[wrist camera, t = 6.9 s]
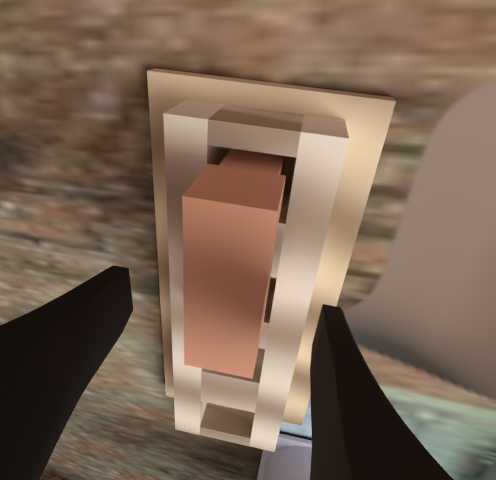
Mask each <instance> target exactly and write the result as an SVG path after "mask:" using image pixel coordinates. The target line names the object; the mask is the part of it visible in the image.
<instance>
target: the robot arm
mask: <svg viewBox="0 0 496 480" xmlns="http://www.w3.org/2000/svg"><path fill="white" fill-rule="evenodd" d="M132 311H133V303H132V294H131V285H130V276H129V268H124V267H119V266H112V267H110V268H108V269H106V270H104V271H103V272H101V273H99V274H98V275H96V276H94V277H93V278H91V279H89V280H88V281H86V282H84V283H82V284H81V285H79V286H77V287H76V288H74V289H72V290H70V291H69V292H67V293H65V294H64V295H62V296H60V297H58V298H56V299H54V300H52V301H50V302H49V303H47V304H45V305H43V306H41V307H39V308H37V309H35V310H33V311H31V312H29V313H27V314H25V315H23V316H21V317H19V318H16V319H14V320H12V321H9V322H7V323H5V324H3V325H0V480H40V477H41V475H42V473H43V471H44V469H45V467H46V465H47V462H48V460H49V458H50V456H51V454H52V452H53V450H54V447H55V445H56V443H57V441H58V439H59V437H60V435H61V433H62V431H63V429H64V427H65V425H66V423H67V421H68V419H69V418H70V416H71V414H72V412H73V410H74V408H75V406H76V404H77V402H78V401H79V399H80V397H81V395H82V393H83V392H84V390H85V388H86V387H87V385H88V383H89V382H90V380H91V379H92V377H93V376H94V374H95V373H96V371H97V370H98V368H99V367H100V365H101V364H102V362H103V361H104V359H105V358H106V356H107V355H108V353H109V352H110V350H111V349H112V347H113V346H114V344H115V343H116V341H117V340H118V338H119V337H120V335H121V333H122V332H123V330H124V328H125V326H126V324H127V322H128V320H129V317H130V315H131V313H132ZM310 392H311V421H312V441H311V440H307V439H303V438H298V437H294V436H289V435H285V434H280V433H279V436H278V440H277V444H276V449H275V452H272V451H268V450H263V452H262V456H261V461H260V466H259V471H258V476H257V480H454V479H453V478H452V477H451V476H450V475H449V474H448V473H447V472H446V471H445V470H444V469H443V468H442V467H441V466H440V465H439V464H438V462H437V461H436V460H435V459H434V458H433V457H432V456H431V455H430V454H429V452H428V451H427V450H426V449H425V448H424V446H423V445H422V444H421V443H420V441H419V440H418V439H417V438H416V436H415V435H414V434H413V433H412V432H411V430H410V429H409V428H408V427H407V425H406V424H405V423H404V421H403V420H402V419H401V417H400V416H399V415H398V413H397V412H396V410H395V409H394V408H393V406H392V405H391V403H390V402H389V400H388V399H387V397H386V396H385V394H384V393H383V391H382V390H381V388H380V386H379V385H378V383H377V381H376V380H375V378H374V376H373V374H372V373H371V371H370V369H369V367H368V366H367V364H366V362H365V360H364V358H363V356H362V354H361V352H360V350H359V348H358V346H357V344H356V342H355V340H354V338H353V336H352V333H351V331H350V329H349V326H348V324H347V321H346V319H345V316H344V313H343V310H342V309H341V308H340V307H336V306H330V305H325V304H323V305H322V308H321V312H320V316H319V320H318V324H317V327H316V331H315V335H314V339H313V343H312V351H311V363H310Z"/></svg>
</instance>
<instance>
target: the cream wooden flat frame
mask: <svg viewBox="0 0 496 480" xmlns="http://www.w3.org/2000/svg"><path fill="white" fill-rule="evenodd" d="M147 80H148V98H149V115H150V132H151V149H152V166H153V183H154V201H155V218H156V235H157V252H158V269H159V287H160V304H161V321H162V338H163V355H164V372H165V390H166V396H170V397H174V407H175V429H176V430H180V431H185V432H189V433H193V434H198V435H202V436H206V437H211V438H215V439H220V440H224V441H228V442H233V443H237V444H241V445H246V446H250V447H254V448H259V449H263V450H268V451H272V452H275V449H276V444H277V440H278V436H279V432H280V428H281V423H282V421H284V422H288V423H293V424H297V425H302V422H303V419H304V416H305V412H306V409H307V405H308V402H309V398H310V395H311V392H310V363H311V351H312V343H313V339H314V335H315V331H316V327H317V324H318V320H319V316H320V312H321V308H322V305H323V304H325V305H330V306H337V302H338V299H339V295H340V292H341V289H342V285H343V282H344V278H345V275H346V271H347V268H348V264H349V261H350V258H351V254H352V251H353V247H354V244H355V240H356V237H357V234H358V230H359V227H360V223H361V220H362V216H363V213H364V210H365V206H366V203H367V199H368V196H369V192H370V189H371V185H372V182H373V179H374V175H375V172H376V168H377V165H378V161H379V158H380V155H381V151H382V148H383V144H384V141H385V137H386V134H387V131H388V127H389V124H390V120H391V117H392V113H393V110H394V106H395V103H396V101H395V100H394V99H393V97H388V96H380V95H371V94H363V93H355V92H347V91H338V90H330V89H322V88H314V87H305V86H297V85H289V84H281V83H273V82H264V81H256V80H248V79H240V78H231V77H223V76H215V75H207V74H199V73H190V72H182V71H174V70H166V69H157V68H155V69H151V70H148V71H147ZM231 148H233V149H240V150H247V151H254V152H261V153H268V154H275V155H282V156H285V160H284V167H283V174H282V175H286V178H285V185H284V191H283V198H282V204H281V211H280V217H279V224H278V230H277V237H276V243H275V250H274V256H273V263H272V269H271V276H270V282H269V289H268V296H267V302H266V309H265V315H264V322H263V328H262V333H261V338H260V343H259V348H258V354H257V359H256V364H255V369H254V374H253V379H251V378H246V377H241V376H236V375H232V374H227V373H222V372H217V371H213V370H208V369H203V368H198V367H194V366H189V365H184V304H183V210H182V196H183V195H184V193H185V192H186V191H187V190H188V188H189V187H190V186H191V185H192V183H193V182H194V181H195V180H196V178H197V177H198V176H199V175H200V173H201V172H202V171H203V170H204V168H205V167H206V166H207V165H208V164H212V165H219V164H220V163H221V162H222V160H223V159H224V157H225V156H226V155H227V153H228V152H229V150H230V149H231Z"/></svg>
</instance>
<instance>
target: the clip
mask: <svg viewBox="0 0 496 480" xmlns="http://www.w3.org/2000/svg"><path fill="white" fill-rule="evenodd" d="M284 160H285V156H282V155H275V154H268V153H261V152H254V151H247V150H240V149H233V148H231V149H230V150H229V152H228V153H227V155H226V156H225V157H224V159H223V160H222V162H221V163H220V164H219V165H212V164H208V165H207V166H206V167H205V168H204V170H203V171H202V172H201V173H200V175H199V176H198V177H197V178H196V180H195V181H194V182H193V183H192V185H191V186H190V187H189V188H188V190H187V191H186V192H185V193H184V195H183V196H182V210H183V304H184V365H189V366H194V367H198V368H203V369H208V370H213V371H217V372H222V373H227V374H232V375H236V376H241V377H246V378H251V379H253V374H254V369H255V364H256V359H257V354H258V348H259V343H260V338H261V333H262V328H263V322H264V315H265V309H266V302H267V296H268V289H269V282H270V276H271V269H272V263H273V256H274V250H275V243H276V237H277V230H278V224H279V217H280V211H281V204H282V198H283V191H284V185H285V178H286V175H282V174H283V167H284Z"/></svg>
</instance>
